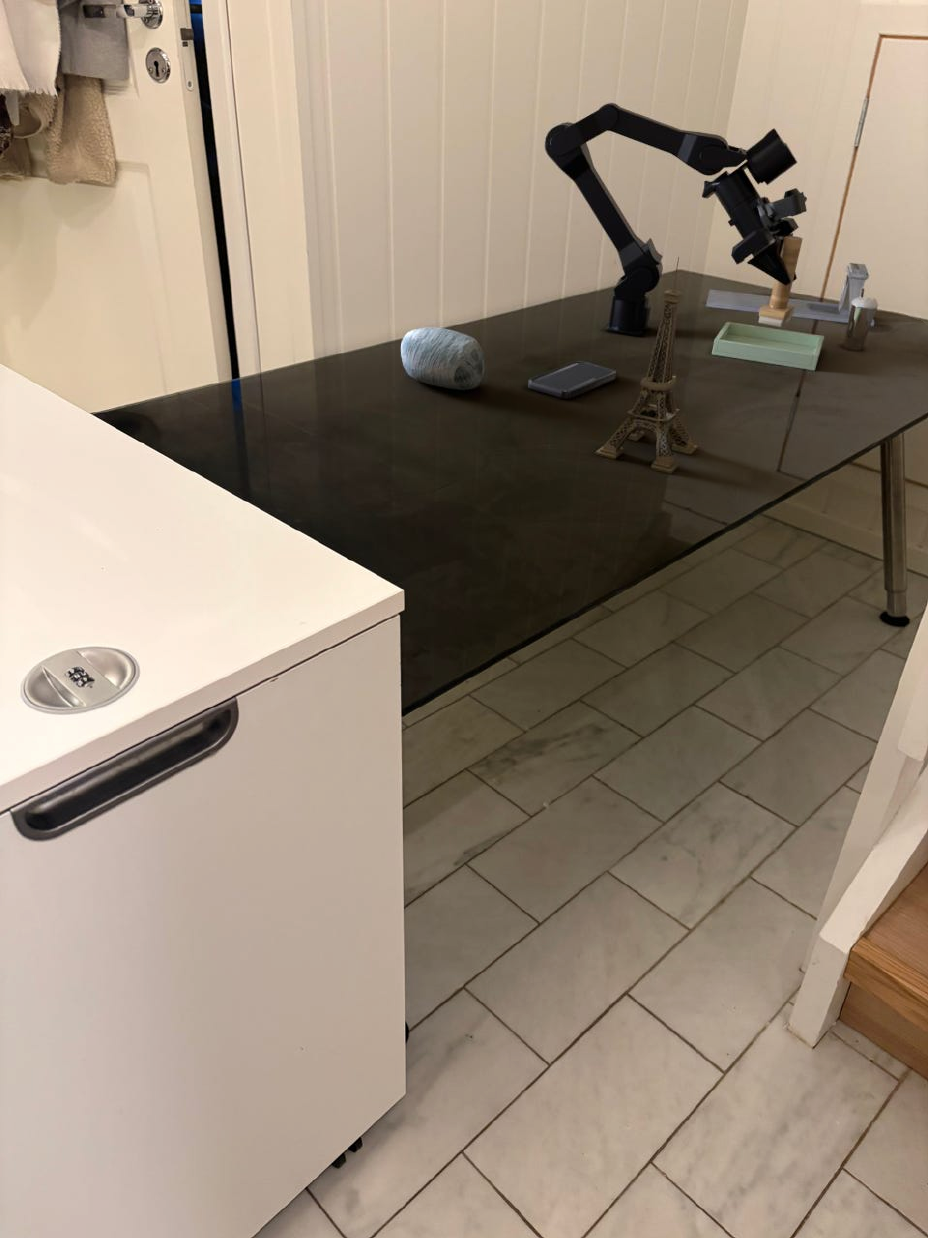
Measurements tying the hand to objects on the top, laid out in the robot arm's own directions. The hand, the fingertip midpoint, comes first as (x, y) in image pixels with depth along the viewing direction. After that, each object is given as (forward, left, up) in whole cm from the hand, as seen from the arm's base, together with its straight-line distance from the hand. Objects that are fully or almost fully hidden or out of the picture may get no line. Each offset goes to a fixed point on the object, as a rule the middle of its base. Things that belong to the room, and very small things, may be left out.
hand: (791, 282), depth 163 cm
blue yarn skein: (-45, -46, -13) cm, 66 cm away
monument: (-1, +36, -13) cm, 38 cm away
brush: (-1, 0, -7) cm, 7 cm away
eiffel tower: (-10, -57, -13) cm, 59 cm away
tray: (-1, 0, -12) cm, 13 cm away
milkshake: (+13, +12, -13) cm, 22 cm away
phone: (-27, -35, -12) cm, 46 cm away
